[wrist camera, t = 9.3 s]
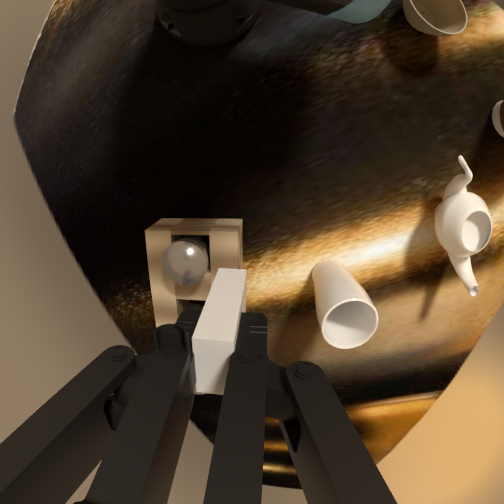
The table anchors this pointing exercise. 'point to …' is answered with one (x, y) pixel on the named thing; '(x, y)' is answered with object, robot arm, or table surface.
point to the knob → (187, 259)
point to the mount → (221, 256)
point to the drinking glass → (342, 306)
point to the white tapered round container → (436, 16)
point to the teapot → (462, 226)
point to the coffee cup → (498, 117)
